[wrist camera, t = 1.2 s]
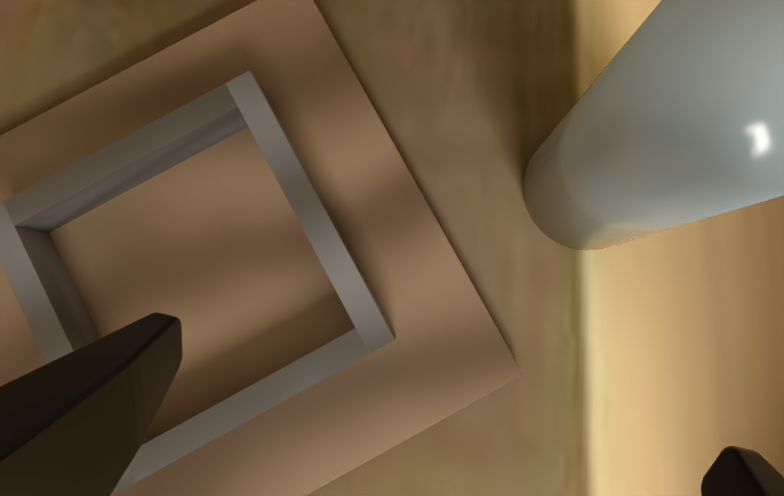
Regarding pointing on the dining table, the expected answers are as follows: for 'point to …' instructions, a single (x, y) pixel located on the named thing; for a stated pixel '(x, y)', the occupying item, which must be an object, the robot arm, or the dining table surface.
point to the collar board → (244, 259)
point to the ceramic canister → (668, 128)
